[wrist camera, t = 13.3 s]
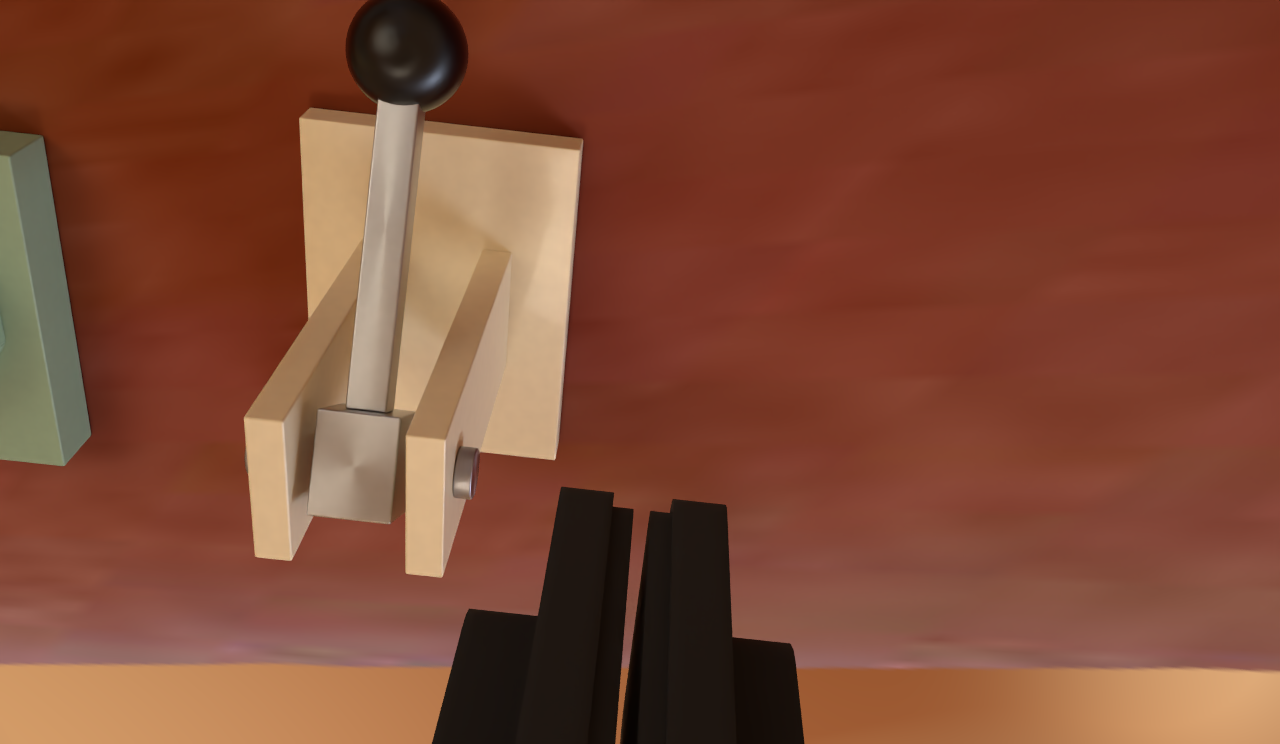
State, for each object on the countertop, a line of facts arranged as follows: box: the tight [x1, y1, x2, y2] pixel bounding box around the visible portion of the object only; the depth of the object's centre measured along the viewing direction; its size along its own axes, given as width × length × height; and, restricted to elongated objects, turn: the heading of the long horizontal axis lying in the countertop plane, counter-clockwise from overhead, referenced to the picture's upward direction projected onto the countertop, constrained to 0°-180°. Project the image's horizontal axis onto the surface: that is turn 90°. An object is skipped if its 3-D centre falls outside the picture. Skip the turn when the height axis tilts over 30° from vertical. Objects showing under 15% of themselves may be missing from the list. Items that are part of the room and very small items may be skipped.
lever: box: [307, 0, 468, 524], centre depth 30 cm, size 14×3×3 cm
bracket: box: [244, 108, 583, 577], centre depth 34 cm, size 12×9×13 cm
